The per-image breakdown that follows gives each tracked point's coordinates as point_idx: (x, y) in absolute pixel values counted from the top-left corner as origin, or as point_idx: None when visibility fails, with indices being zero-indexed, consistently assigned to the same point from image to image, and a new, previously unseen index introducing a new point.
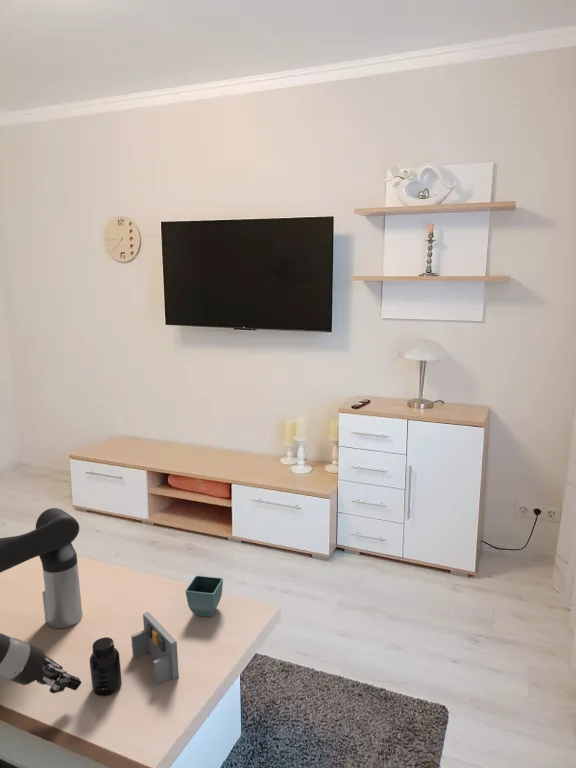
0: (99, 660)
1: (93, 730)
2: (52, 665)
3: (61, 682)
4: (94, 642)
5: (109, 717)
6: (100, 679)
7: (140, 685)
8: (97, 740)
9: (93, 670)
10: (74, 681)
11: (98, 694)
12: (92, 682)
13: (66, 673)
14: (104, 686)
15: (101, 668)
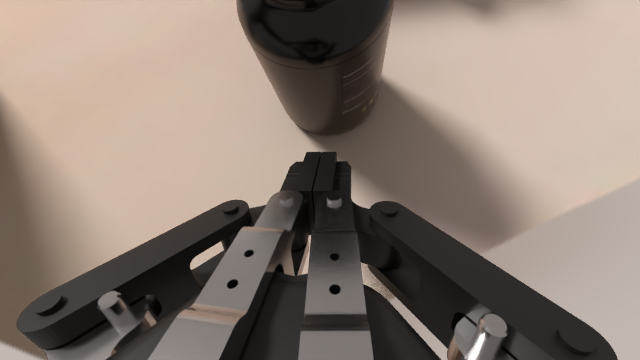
0: (358, 1)
1: (508, 196)
2: (307, 334)
3: (564, 312)
4: None
5: (477, 133)
6: (370, 81)
7: None
8: (568, 201)
9: (342, 75)
10: (340, 177)
11: (355, 125)
12: (325, 118)
13: (302, 198)
14: (375, 90)
15: (382, 31)
